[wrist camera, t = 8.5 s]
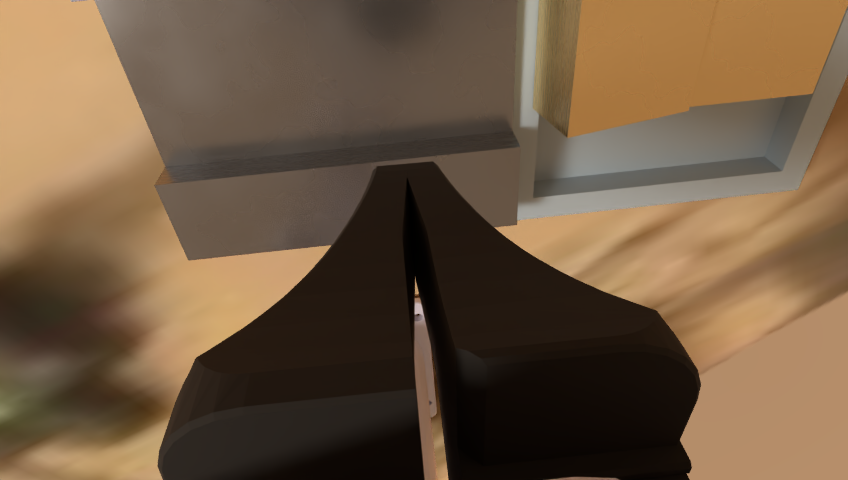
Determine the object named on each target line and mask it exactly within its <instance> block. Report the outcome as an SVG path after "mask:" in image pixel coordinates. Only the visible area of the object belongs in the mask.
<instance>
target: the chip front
mask: <svg viewBox="0 0 848 480" xmlns="http://www.w3.org/2000/svg"><path fill="white" fill-rule="evenodd" d="M715 4H716V0H539V5H538V23H537V40H536V58H535V75H534V93H533V109H534V110H535V111H536V112H537V113H538V114H540V115H541V116H542V117H543V118H544V119H546V120H547V121H548V122H549V123H550V124H551V125H553V126H554V127H555V128H556V129H557V130H559V131H560V132H561V133H562V134H563V135H564V136H566V137H567V138H570V137H575V136H579V135H583V134H588V133H592V132H597V131H601V130H606V129H610V128H615V127H619V126H624V125H628V124H632V123H637V122H641V121H646V120H650V119H655V118H659V117H664V116H668V115H673V114H677V113H681V112H686V111H689V107H690V103H691V99H692V95H693V91H694V87H695V83H696V79H697V75H698V71H699V67H700V63H701V59H702V55H703V51H704V47H705V43H706V40H707V36H708V32H709V28H710V24H711V20H712V16H713V12H714V8H715Z"/></svg>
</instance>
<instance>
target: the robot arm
mask: <svg viewBox="0 0 848 480" xmlns="http://www.w3.org/2000/svg"><path fill="white" fill-rule="evenodd" d="M415 278H416V282H417V287H418V291H419V296H420V298H415ZM415 314H421V315H418V316H416V315H415ZM431 349H432V353H433V359H434V364H435V370H436V377H437V385H438V393H439V402H440V410H441V418H442V427H443V435H444V444H445V452H446V461H447V470H448V478H449V480H689V478H688V476H687V474H686V473H690V470H691V468H692V467H691V461H690V459H689V457H688V456H687V453H686V452H685V450H684V448H683V446H682V444H681V442H680V438H681V436H682V434H683V431H684V429H685V427H686V425H687V422H688V420H689V418H690V415H691V413H692V411H693V408H694V406H695V404H696V402H697V399H698V395H699V391H700V387H701V383H700V378H699V374H698V370H697V368H696V367H695V365H694V363H693V362H692V360H691V359H690V357H689V355H688V354H687V352H686V350H685V349H684V347H683V346H682V344H681V343H680V341H679V340H678V338H677V337H676V335H675V334H674V332H673V331H672V330H671V329H670V327H669V326H668V325H667V324H666V322H665V321H664V320H663V319H662V317H661V316H660V314H659V313H658V312H657V311H656V310H653V309H650V308H647V307H645V306H642V305H639V304H636V303H633V302H631V301H628V300H625V299H622V298H619V297H617V296H614V295H611V294H608V293H606V292H603V291H601V290H599V289H596V288H594V287H592V286H590V285H587V284H585V283H583V282H581V281H579V280H576V279H574V278H572V277H570V276H568V275H566V274H564V273H562V272H560V271H558V270H557V269H555V268H553V267H551V266H550V265H548V264H546V263H544V262H543V261H541V260H539V259H537V258H536V257H534V256H532V255H531V254H529V253H528V252H526V251H525V250H523V249H521V248H520V247H519V246H517V245H516V244H515V243H513V242H512V241H510V240H509V239H508V238H506V237H505V236H504V235H502V234H501V233H500V232H499V231H498V230H496V229H495V228H494V227H493V226H492V225H491V224H490V223H488V222H487V221H486V220H485V219H484V218H483V217H482V216H481V215H480V214H479V213H478V212H477V211H476V210H475V209H474V208H473V207H472V206H471V205H470V204H469V203H468V202H467V201H466V200H465V199H464V198H463V197H462V196H461V194H460V193H459V192H458V191H457V190H456V189H455V187H454V186H453V185H452V184H451V183H450V181H449V180H448V179H447V178H446V176H445V175H444V174H443V172H442V171H441V169H440V168H439V166H438V165H437V164H436V163H434V162H433V161H430V162H419V163H407V164H396V165H385V166H377V167H376V168H375V169H374V170H373V171H372V175H371V178H370V181H369V183H368V185H367V188H366V190H365V192H364V194H363V196H362V198H361V200H360V202H359V204H358V205H357V207H356V209H355V211H354V213H353V214H352V216H351V218H350V219H349V221H348V223H347V224H346V226H345V227H344V228H343V230H342V231H341V233H340V234H339V236H338V237H337V239H336V240H335V242H334V243H333V244H332V246H331V247H330V248H329V250H328V251H327V252H326V253H325V255H324V256H323V257H322V258H321V260H320V261H319V262H318V263H317V264H316V265H315V266H314V268H313V269H312V270H311V271H310V272H309V273H308V274H307V275H306V276H305V277H304V278H303V279H302V280H301V281H300V282H299V283H298V284H297V285H296V286H295V287H294V288H293V289H292V290H291V291H290V292H289V293H288V294H287V295H285V296H284V297H283V298H282V299H281V300H279V301H278V302H277V303H276V304H275V305H273V306H272V307H271V308H270V309H268V310H267V311H266V312H264V313H263V314H262V315H260V316H259V317H258V318H256V319H255V320H254V321H252V322H251V323H250V324H248V325H247V326H245V327H244V328H243V329H241V330H240V331H238V332H236V333H235V334H233V335H232V336H230V337H229V338H227V339H225V340H224V341H222V342H221V343H219V344H218V345H216V346H215V347H213V348H211V349H210V350H208V351H207V352H205V353H203V354H202V355H200V356H198V357H197V358H196V359H195V361H194V363H193V366H192V368H191V370H190V372H189V374H188V376H187V378H186V380H185V382H184V384H183V386H182V388H181V391H180V393H179V395H178V397H177V400H176V402H175V405H174V408H173V411H172V414H171V417H170V420H169V423H168V426H167V429H166V432H165V435H164V438H163V441H162V444H161V447H160V450H159V458H158V468H159V471H160V473H161V476H162V478H163V480H438V479H437V470H436V461H435V452H434V443H433V434H432V425H431V417H433V416H435V415H436V413H437V408H436V397H435V387H434V376H433V365H432V354H431Z"/></svg>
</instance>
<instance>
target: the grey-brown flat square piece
mask: <svg viewBox="0 0 848 480" xmlns="http://www.w3.org/2000/svg"><path fill="white" fill-rule="evenodd" d="M74 1H85V0H71V2H74ZM95 3H96V5H97V7H98V10H99V12H100V14H101V17H102V19H103V21H104V24H105V26H106V28H107V31H108V33H109V35H110V38H111V40H112V42H113V45H114V47H115V49H116V52H117V54H118V57H119V59H120V61H121V64H122V66H123V68H124V71H125V73H126V75H127V78H128V80H129V82H130V85H131V87H132V89H133V92H134V94H135V96H136V99H137V101H138V103H139V106H140V108H141V110H142V113H143V115H144V117H145V120H146V122H147V125H148V127H149V129H150V132H151V134H152V136H153V139H154V141H155V143H156V146H157V148H158V150H159V153H160V155H161V157H162V160H163V162H164V164H165V168H164V170H163V172H162V174H161V175H160V177H159V179H158V180H157V182H156V184H155V188H156V190H157V192H158V194H159V196H160V199H161V201H162V203H163V205H164V207H165V210H166V212H167V214H168V216H169V219H170V221H171V223H172V225H173V227H174V230H175V232H176V234H177V236H178V238H179V241H180V243H181V245H182V247H183V249H184V252H185V254H186V256H187V258H188V260H197V259H206V258H215V257H225V256H234V255H243V254H252V253H261V252H271V251H280V250H289V249H298V248H308V247H317V246H326V245H332V244H333V243H334V242H335V240H336V239H337V237H338V236H339V234H340V233H341V231H342V230H343V228H344V227H345V226H346V224H347V223H348V221H349V219H350V218H351V216H352V214H353V213H354V211H355V209H356V207H357V205H358V204H359V202H360V200H361V198H362V196H363V194H364V192H365V190H366V188H367V185H368V183H369V181H370V178H371V175H372V171H373V170H374V169H375V168H376V167H377V166H385V165H396V164H407V163H419V162H430V161H433V162H434V163H436V164H437V165H438V166H439V168H440V169H441V171H442V172H443V174H444V175H445V176H446V178H447V179H448V180H449V181H450V183H451V184H452V185H453V186H454V187H455V189H456V190H457V191H458V192H459V193H460V194H461V196H462V197H463V198H464V199H465V200H466V201H467V202H468V203H469V204H470V205H471V206H472V207H473V208H474V209H475V210H476V211H477V212H478V213H479V214H480V215H481V216H482V217H483V218H484V219H485V220H486V221H487V222H488V223H490V224H491V225H492V226H493V227H501V226H510V225H517V213H518V193H519V172H520V152H521V147H520V144H519V142H518V140H517V138H516V136H515V134H514V132H513V111H514V85H515V58H516V31H517V5H518V0H95Z"/></svg>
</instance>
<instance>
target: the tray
mask: <svg viewBox="0 0 848 480" xmlns="http://www.w3.org/2000/svg"><path fill="white" fill-rule="evenodd" d="M538 5H539V0H518V5H517V31H516V58H515V85H514V111H513V132H514V134H515V136H516V138H517V140H518V142H519V144H520V147H521V152H520V172H519V193H518V213H517V220H524V219H533V218H542V217H552V216H561V215H570V214H579V213H589V212H598V211H607V210H616V209H626V208H635V207H644V206H653V205H663V204H672V203H681V202H690V201H699V200H709V199H718V198H727V197H736V196H746V195H755V194H764V193H773V192H783V191H792V190H798V188H799V186H800V183H801V181H802V179H803V177H804V174H805V172H806V170H807V167H808V165H809V163H810V160H811V158H812V156H813V154H814V151H815V149H816V147H817V144H818V142H819V140H820V138H821V135H822V133H823V131H824V128H825V126H826V124H827V121H828V119H829V117H830V115H831V112H832V110H833V108H834V105H835V103H836V101H837V98H838V96H839V94H840V92H841V89H842V87H843V85H844V82H845V80H846V78H847V76H848V6H847V9H846V11H845V14H844V16H843V19H842V21H841V24H840V26H839V29H838V31H837V34H836V36H835V39H834V41H833V44H832V46H831V49H830V51H829V54H828V56H827V59H826V61H825V64H824V66H823V69H822V71H821V74H820V76H819V79H818V81H817V84H816V86H815V89H814V92H813V94H806V95H797V96H788V97H778V98H769V99H760V100H750V101H741V102H732V103H722V104H713V105H703V106H694V107H689V111H686V112H681V113H677V114H673V115H668V116H664V117H659V118H655V119H650V120H646V121H641V122H637V123H632V124H628V125H624V126H619V127H615V128H610V129H606V130H601V131H597V132H592V133H588V134H583V135H579V136H575V137H570V138H567V137H566V136H564V135H563V134H562V133H561V132H560V131H559V130H557V129H556V128H555V127H554V126H553V125H551V124H550V123H549V122H548V121H547V120H546V119H544V118H543V117H542V116H541V115H540V114H538V113H537V112H536V111H535V110H534V109H533V93H534V75H535V58H536V40H537V23H538Z"/></svg>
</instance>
